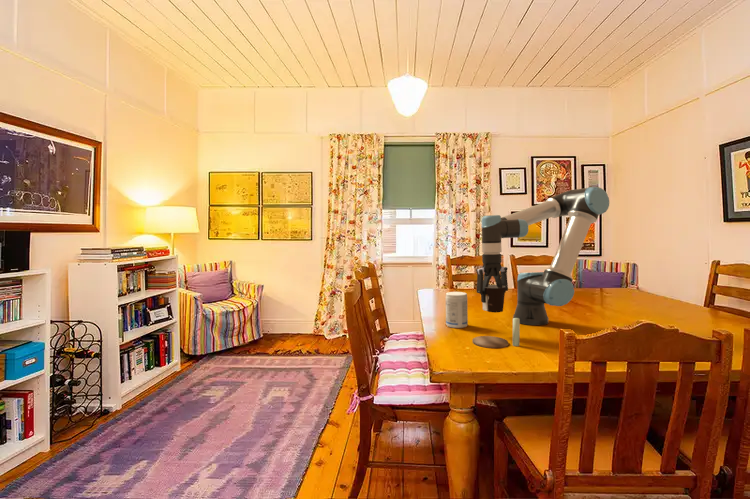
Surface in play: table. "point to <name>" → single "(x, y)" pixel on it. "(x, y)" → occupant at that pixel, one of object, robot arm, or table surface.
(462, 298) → the supplement tub
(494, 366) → the table surface
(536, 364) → the table surface
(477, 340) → the walnut base
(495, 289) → the coffee mug
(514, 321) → the dowel
